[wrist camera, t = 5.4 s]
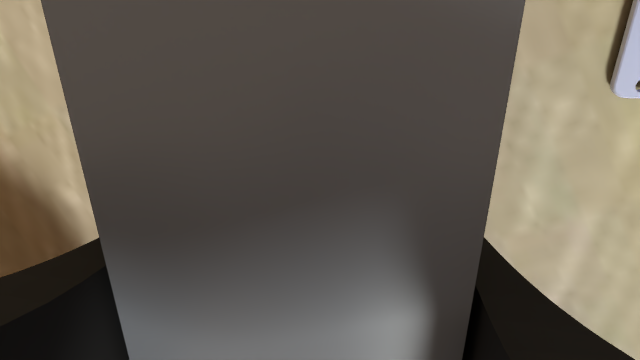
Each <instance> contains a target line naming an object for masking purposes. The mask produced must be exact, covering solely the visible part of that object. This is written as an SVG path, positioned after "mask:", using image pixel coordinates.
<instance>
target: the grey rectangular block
mask: <svg viewBox="0 0 640 360" xmlns="http://www.w3.org/2000/svg"><path fill="white" fill-rule="evenodd" d="M41 3H42V7H43V11H44V15H45V19H46V23H47V28H48V32H49V36H50V40H51V44H52V48H53V52H54V56H55V60H56V64H57V68H58V72H59V76H60V80H61V84H62V88H63V92H64V96H65V100H66V104H67V108H68V113H69V117H70V121H71V125H72V129H73V133H74V137H75V141H76V145H77V149H78V153H79V157H80V161H81V165H82V169H83V173H84V177H85V181H86V185H87V189H88V193H89V198H90V202H91V206H92V210H93V214H94V218H95V222H96V226H97V230H98V234H99V238H100V242H101V246H102V250H103V254H104V258H105V262H106V266H107V270H108V274H109V278H110V282H111V287H112V291H113V295H114V299H115V303H116V307H117V311H118V315H119V319H120V323H121V327H122V331H123V335H124V339H125V343H126V347H127V351H128V355H129V359H130V360H462V357H463V351H464V346H465V340H466V334H467V329H468V323H469V317H470V312H471V306H472V300H473V295H474V289H475V283H476V278H477V272H478V266H479V261H480V255H481V249H482V244H483V238H484V232H485V226H486V221H487V215H488V209H489V204H490V198H491V192H492V187H493V181H494V175H495V170H496V164H497V158H498V153H499V147H500V141H501V136H502V130H503V124H504V119H505V113H506V107H507V102H508V96H509V90H510V85H511V79H512V73H513V68H514V62H515V56H516V51H517V45H518V39H519V34H520V28H521V22H522V17H523V11H524V5H525V0H41Z"/></svg>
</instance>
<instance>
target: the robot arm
mask: <svg viewBox="0 0 640 360" xmlns="http://www.w3.org/2000/svg"><path fill="white" fill-rule="evenodd" d="M638 81H640V0H633V3H632V7H631V11H630V14H629V18H628V21H627V25H626V29H625V32H624V36H623V40H622V43H621V47H620V50H619V54H618V58H617V61H616V65H615V69H614V72H613V76H612V79H611V83H610V88H611V91H612V92H613V93H614V94H615V95H617V96H619V97H622V98H640V89H638V90H636V89H635V85H636V84H637V82H638ZM0 360H130V359H129V355H128V351H127V347H126V343H125V339H124V335H123V331H122V327H121V323H120V319H119V315H118V311H117V307H116V303H115V299H114V295H113V291H112V287H111V282H110V278H109V274H108V270H107V266H106V262H105V258H104V254H103V250H102V246H101V242H100V238H98V239H96V240H93V241H91V242H89V243H87V244H85V245H83V246H81V247H78V248H76V249H74V250H72V251H70V252H67V253H65V254H63V255H60V256H58V257H56V258H53V259H51V260H48V261H46V262H43V263H40V264H38V265H35V266H32V267H30V268H27V269H25V270H22V271H19V272H16V273H13V274H10V275H7V276H4V277H1V278H0ZM462 360H635V359H633V358H632V357H630V356H629V355H627V354H626V353H624V352H622V351H621V350H619V349H618V348H616V347H615V346H613V345H612V344H610V343H608V342H607V341H605V340H604V339H602V338H601V337H599V336H598V335H596V334H595V333H593V332H592V331H591V330H589V329H588V328H586V327H585V326H583V325H582V324H581V323H579V322H578V321H577V320H575V319H574V318H573V317H571V316H570V315H569V314H567V313H566V312H565V311H563V310H562V309H561V308H559V307H558V306H557V305H556V304H554V303H553V302H552V301H551V300H549V299H548V298H547V297H546V296H545V295H543V294H542V293H541V292H540V291H539V290H538V289H537V288H535V287H534V286H533V285H532V284H531V283H530V282H529V281H527V280H526V279H525V278H524V277H523V276H522V275H521V274H520V273H519V272H518V271H517V270H515V269H514V268H513V267H512V266H511V265H510V264H509V263H508V262H507V261H506V260H505V259H504V258H503V257H502V256H501V255H500V254H499V253H498V252H497V251H496V250H495V248H494V247H493V246H492V245H491V244H490V243H489V242H488V241H487V240H486V239H485V238H483V244H482V249H481V255H480V261H479V266H478V272H477V278H476V283H475V289H474V295H473V300H472V306H471V312H470V317H469V323H468V329H467V334H466V340H465V346H464V351H463V357H462Z"/></svg>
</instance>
